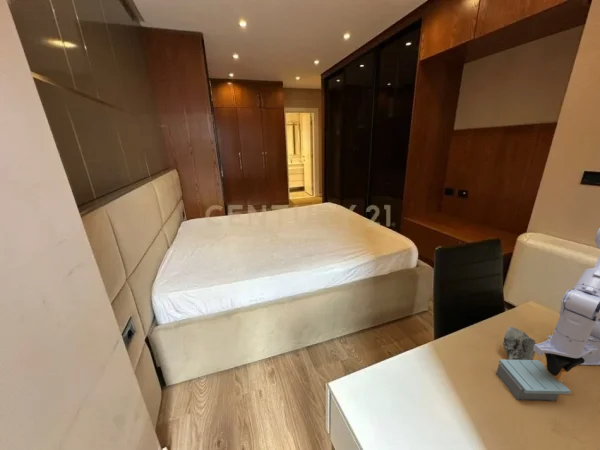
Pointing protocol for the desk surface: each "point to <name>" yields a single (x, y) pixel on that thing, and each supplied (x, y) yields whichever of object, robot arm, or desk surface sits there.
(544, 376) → the lid
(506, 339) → the stone
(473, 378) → the desk surface
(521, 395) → the tub
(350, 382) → the desk surface
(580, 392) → the desk surface
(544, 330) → the desk surface
